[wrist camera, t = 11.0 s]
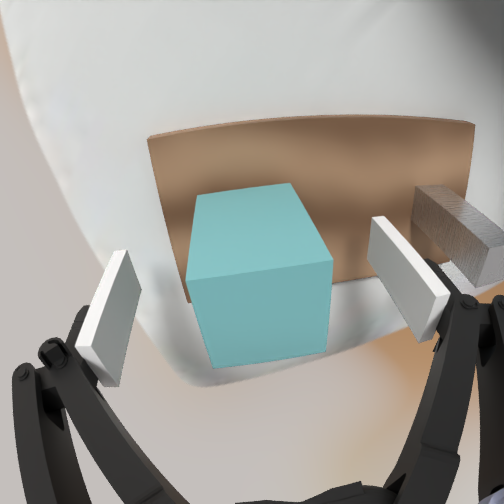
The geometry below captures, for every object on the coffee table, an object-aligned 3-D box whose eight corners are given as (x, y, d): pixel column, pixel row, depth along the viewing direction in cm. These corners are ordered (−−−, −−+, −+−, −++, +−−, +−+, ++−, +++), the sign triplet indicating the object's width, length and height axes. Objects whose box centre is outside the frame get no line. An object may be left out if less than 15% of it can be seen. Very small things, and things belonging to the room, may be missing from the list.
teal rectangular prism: (197, 195, 17) (185, 280, 11) (290, 182, 17) (333, 259, 11) (212, 270, 20) (213, 368, 13) (293, 259, 20) (325, 351, 14)
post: (415, 185, 19) (489, 248, 12) (442, 184, 19) (516, 242, 12) (410, 219, 20) (475, 288, 14) (437, 216, 20) (502, 279, 14)
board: (150, 135, 17) (146, 139, 16) (466, 121, 17) (475, 124, 16) (188, 294, 23) (187, 303, 22) (443, 255, 24) (449, 261, 23)
